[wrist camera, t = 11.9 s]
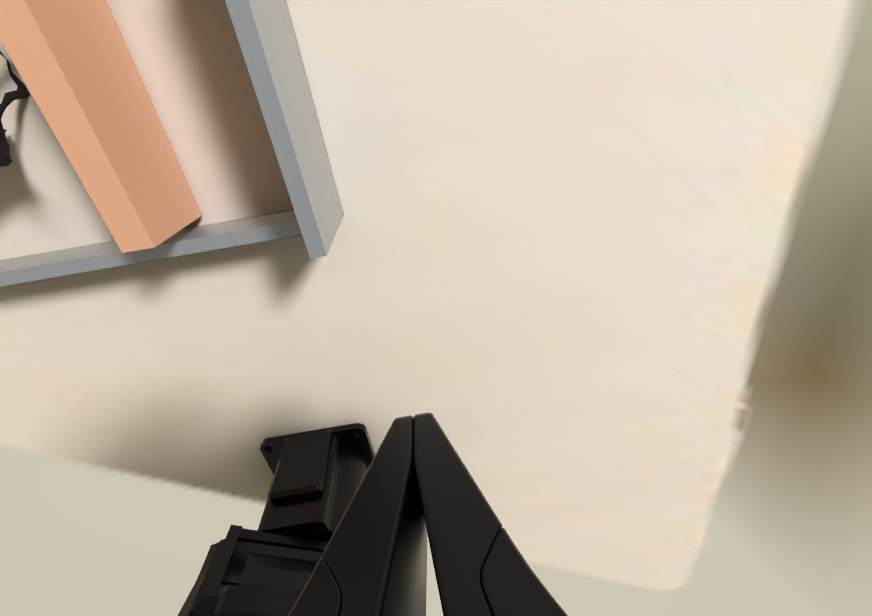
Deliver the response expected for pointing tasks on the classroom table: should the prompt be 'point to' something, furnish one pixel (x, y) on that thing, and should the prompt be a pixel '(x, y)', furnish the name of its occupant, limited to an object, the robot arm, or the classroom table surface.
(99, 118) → the tall tan plank
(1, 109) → the creature
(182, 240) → the frame
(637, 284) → the classroom table surface
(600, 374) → the classroom table surface
